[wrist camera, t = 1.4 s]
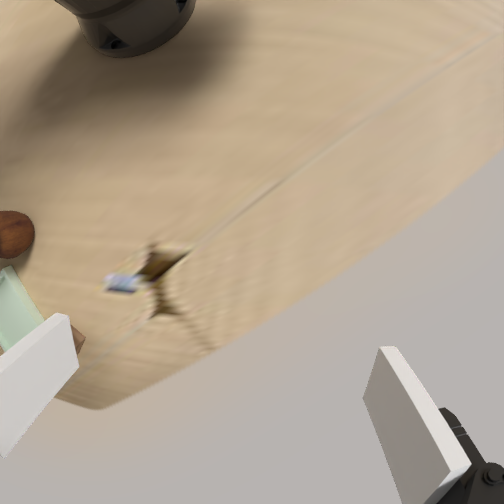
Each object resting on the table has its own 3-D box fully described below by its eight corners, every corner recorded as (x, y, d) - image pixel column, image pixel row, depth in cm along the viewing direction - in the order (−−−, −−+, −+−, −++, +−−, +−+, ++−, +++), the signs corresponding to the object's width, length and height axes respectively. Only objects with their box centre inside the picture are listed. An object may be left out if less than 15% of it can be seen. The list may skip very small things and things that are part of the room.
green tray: (-16, 303, 38) (-23, 306, 36) (11, 264, 36) (3, 268, 34) (24, 366, 40) (18, 371, 38) (58, 339, 38) (51, 345, 36)
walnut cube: (59, 337, 38) (45, 348, 34) (66, 320, 37) (51, 331, 34) (78, 353, 39) (65, 366, 35) (86, 337, 38) (72, 349, 34)
